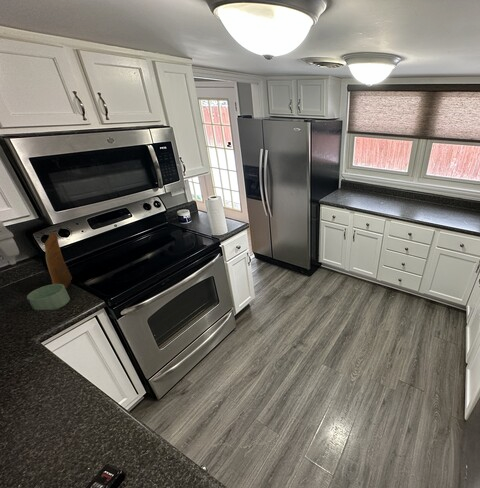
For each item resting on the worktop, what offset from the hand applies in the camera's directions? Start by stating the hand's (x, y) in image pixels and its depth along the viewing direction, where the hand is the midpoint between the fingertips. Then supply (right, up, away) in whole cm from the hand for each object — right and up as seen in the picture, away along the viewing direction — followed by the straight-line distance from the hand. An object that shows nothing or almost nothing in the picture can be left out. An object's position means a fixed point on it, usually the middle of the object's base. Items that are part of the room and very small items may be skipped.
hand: (6, 261), depth 114 cm
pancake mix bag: (-2, -14, +28) cm, 31 cm away
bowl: (+7, -22, +13) cm, 26 cm away
